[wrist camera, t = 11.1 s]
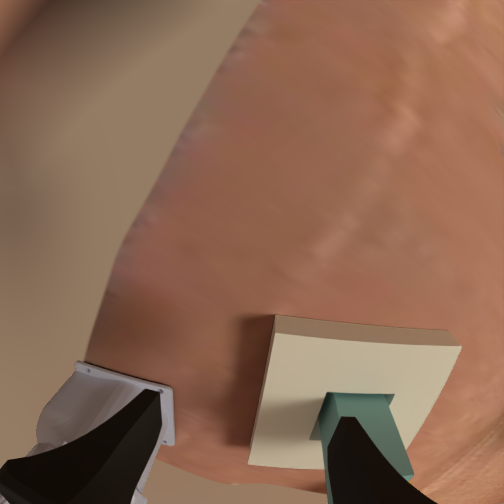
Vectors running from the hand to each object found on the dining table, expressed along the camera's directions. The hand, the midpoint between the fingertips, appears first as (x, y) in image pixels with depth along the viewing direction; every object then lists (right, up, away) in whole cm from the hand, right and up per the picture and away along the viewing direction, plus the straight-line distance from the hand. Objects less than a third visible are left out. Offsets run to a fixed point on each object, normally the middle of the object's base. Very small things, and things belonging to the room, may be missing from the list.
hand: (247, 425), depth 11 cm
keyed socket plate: (+8, -5, +12) cm, 15 cm away
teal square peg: (+8, -5, +12) cm, 15 cm away
